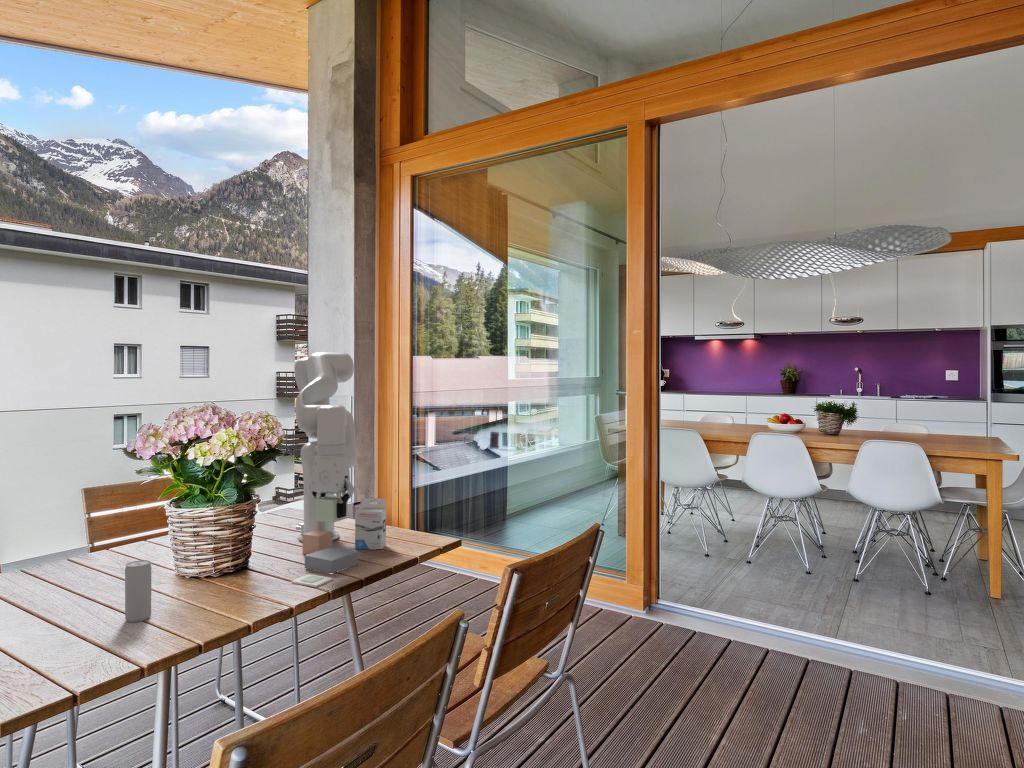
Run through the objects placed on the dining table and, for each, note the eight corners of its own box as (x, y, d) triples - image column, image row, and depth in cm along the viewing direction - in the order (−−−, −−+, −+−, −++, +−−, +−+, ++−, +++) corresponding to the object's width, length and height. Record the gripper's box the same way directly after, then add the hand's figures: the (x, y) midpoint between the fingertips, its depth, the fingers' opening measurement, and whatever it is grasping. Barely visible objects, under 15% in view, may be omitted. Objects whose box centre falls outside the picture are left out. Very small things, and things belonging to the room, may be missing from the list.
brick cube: (302, 554, 178) (302, 534, 178) (316, 549, 184) (316, 529, 184) (318, 556, 176) (318, 536, 176) (332, 551, 181) (332, 531, 181)
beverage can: (146, 613, 133) (146, 558, 133) (155, 618, 130) (155, 562, 130) (121, 619, 129) (121, 563, 129) (130, 625, 126) (129, 568, 126)
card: (291, 583, 152) (291, 580, 152) (308, 576, 158) (308, 573, 158) (316, 587, 149) (316, 584, 149) (332, 580, 155) (332, 577, 155)
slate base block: (304, 570, 164) (304, 555, 164) (331, 560, 173) (331, 546, 173) (331, 575, 159) (331, 560, 159) (358, 565, 168) (358, 551, 168)
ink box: (354, 549, 183) (354, 500, 183) (359, 545, 188) (359, 497, 188) (381, 550, 182) (381, 501, 182) (386, 545, 187) (386, 498, 187)
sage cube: (315, 520, 164) (315, 498, 164) (330, 516, 170) (330, 495, 170) (332, 522, 162) (332, 500, 162) (347, 518, 167) (347, 496, 167)
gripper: (297, 451, 166) (297, 516, 166) (347, 453, 159) (348, 521, 159) (316, 448, 173) (316, 511, 173) (365, 450, 166) (365, 516, 166)
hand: (331, 515), depth 166 cm, fingers closed on sage cube, 6 cm apart
